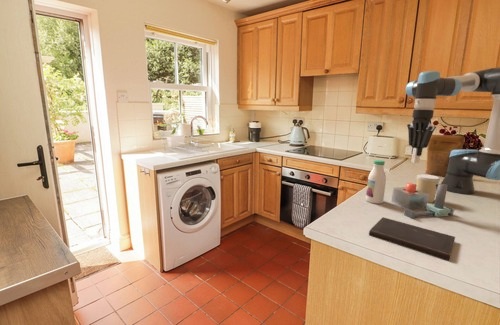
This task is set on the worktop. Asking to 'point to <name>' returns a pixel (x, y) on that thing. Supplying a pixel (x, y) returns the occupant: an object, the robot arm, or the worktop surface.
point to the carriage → (440, 202)
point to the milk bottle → (376, 183)
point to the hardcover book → (414, 237)
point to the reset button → (411, 187)
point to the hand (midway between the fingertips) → (415, 162)
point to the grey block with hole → (410, 198)
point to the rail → (423, 213)
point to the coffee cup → (428, 185)
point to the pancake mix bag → (441, 153)
